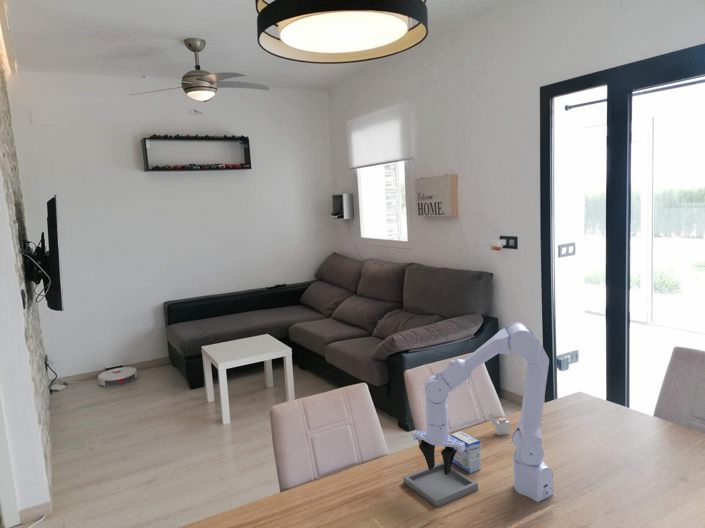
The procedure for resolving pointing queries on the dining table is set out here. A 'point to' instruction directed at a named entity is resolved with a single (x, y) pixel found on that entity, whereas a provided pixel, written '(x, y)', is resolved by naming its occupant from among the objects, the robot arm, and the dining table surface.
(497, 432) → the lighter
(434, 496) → the tray
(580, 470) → the dining table surface
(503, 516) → the dining table surface
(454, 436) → the medicine box
